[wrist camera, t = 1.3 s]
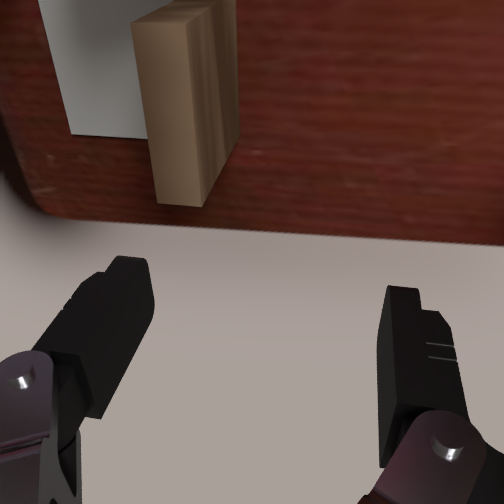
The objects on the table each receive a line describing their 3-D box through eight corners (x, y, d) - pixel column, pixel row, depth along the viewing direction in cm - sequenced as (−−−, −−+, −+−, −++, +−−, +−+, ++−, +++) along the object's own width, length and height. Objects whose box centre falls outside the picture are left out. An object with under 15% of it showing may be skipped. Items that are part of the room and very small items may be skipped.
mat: (173, -20, 28) (171, -19, 28) (189, 139, 34) (187, 141, 34) (36, -21, 30) (33, -20, 30) (74, 132, 36) (71, 134, 35)
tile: (235, -10, 28) (185, 24, 20) (239, 135, 33) (201, 206, 26) (192, -11, 29) (126, 22, 21) (203, 133, 34) (154, 203, 26)
